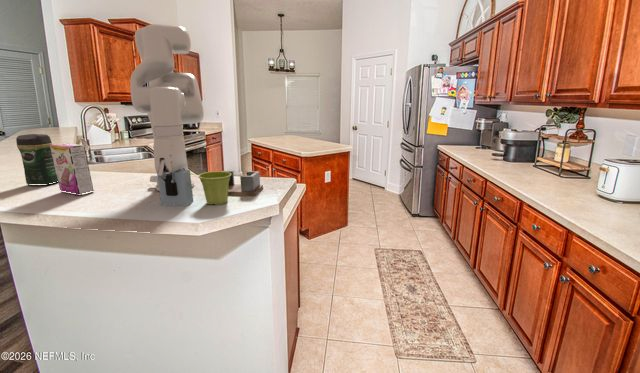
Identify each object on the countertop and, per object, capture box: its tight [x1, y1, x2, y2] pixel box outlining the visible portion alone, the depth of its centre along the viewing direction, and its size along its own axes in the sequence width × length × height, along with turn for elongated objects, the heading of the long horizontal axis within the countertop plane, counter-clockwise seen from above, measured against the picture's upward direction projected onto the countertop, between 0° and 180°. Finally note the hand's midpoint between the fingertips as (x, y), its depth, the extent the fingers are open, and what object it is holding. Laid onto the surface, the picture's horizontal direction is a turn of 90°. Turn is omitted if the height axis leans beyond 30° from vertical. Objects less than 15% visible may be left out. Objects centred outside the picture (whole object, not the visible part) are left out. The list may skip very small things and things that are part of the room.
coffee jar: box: [15, 133, 58, 185], centre depth 119 cm, size 10×8×19 cm
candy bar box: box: [50, 142, 95, 194], centre depth 108 cm, size 11×5×16 cm, turn 65°
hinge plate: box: [228, 183, 264, 197], centre depth 111 cm, size 15×9×1 cm, turn 85°
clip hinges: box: [222, 170, 261, 191], centre depth 110 cm, size 13×8×5 cm, turn 85°
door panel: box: [156, 169, 194, 207], centre depth 97 cm, size 8×4×10 cm, turn 85°
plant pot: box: [198, 170, 231, 206], centre depth 98 cm, size 9×9×9 cm
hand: (176, 192), depth 98 cm, fingers closed on door panel, 4 cm apart
